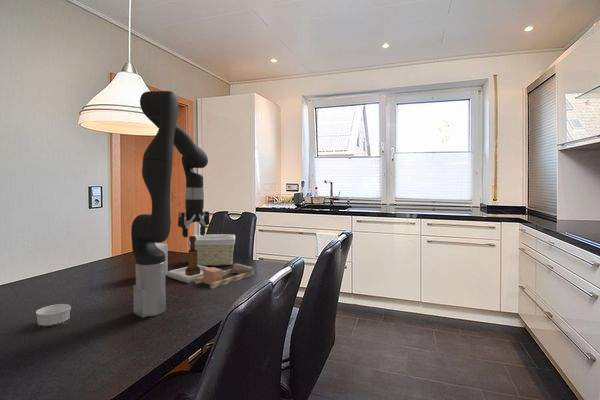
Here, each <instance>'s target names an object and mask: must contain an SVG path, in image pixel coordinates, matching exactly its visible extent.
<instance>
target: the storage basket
mask: <svg viewBox="0 0 600 400" xmlns="http://www.w3.org/2000/svg"><path fill="white" fill-rule="evenodd" d="M191 236H195V237H196V240H195V242H194V245H195V249H194V250H197V265H201V266H205V267H208V266H212V267H214V266H215V267H216V266H228V265H229V266H231V265H232V266H233V264H234V263H233V259H234V250H235V249H234V248H235V245H236V244H235V243H236V234H231V233H229V234H227V233H226V234H225V233H224V234H223V233H221V234H219V233H218V234H216V233H215V234H209V233H208V234H207V233H205V235H200V234H192V235H191ZM187 242H188V243H187V244H188V246H189V247H188V248H189V250H191V248H190V245H191V242H190V240H189V239H188V241H187Z"/></svg>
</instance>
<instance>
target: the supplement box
mask: <svg viewBox="0 0 600 400" xmlns="http://www.w3.org/2000/svg"><path fill="white" fill-rule="evenodd" d="M155 245H156V246H157V247H158V248H159V249H160V250H162V251H163V252H164V253H165V266H166V276H168V271H169V270H168V265H169V264H168V262H169V261H168V258H169V256H168V254H169V252H168V245H169V244H168V243H162V242H161V243H155Z"/></svg>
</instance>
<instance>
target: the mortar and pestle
mask: <svg viewBox="0 0 600 400" xmlns="http://www.w3.org/2000/svg"><path fill="white" fill-rule="evenodd" d="M188 238H189V239H188V241H189V240H190V242H191V245H190V248H191V250H190V249H189V250H187V251H188V252H187V253H188V254H187V257H188V261H187V263H188V266H187V267H188V268H187V269H186V270H185V274H186V275H188V276H193V275H197V274H200V268H199V267H197V250H194V249H195V245H194V242H195V240H196V237H195V236H192V235H190V236H189V237H188Z"/></svg>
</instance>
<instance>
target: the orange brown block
mask: <svg viewBox="0 0 600 400" xmlns="http://www.w3.org/2000/svg"><path fill="white" fill-rule="evenodd" d="M223 271H224V269H222V268H217V267H214V266H211V267H209V268H207V269H203V282H202V283H204V284H206V285H209V286H210V283H213V282H217V281H220V280H223V279H224V276H223Z"/></svg>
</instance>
